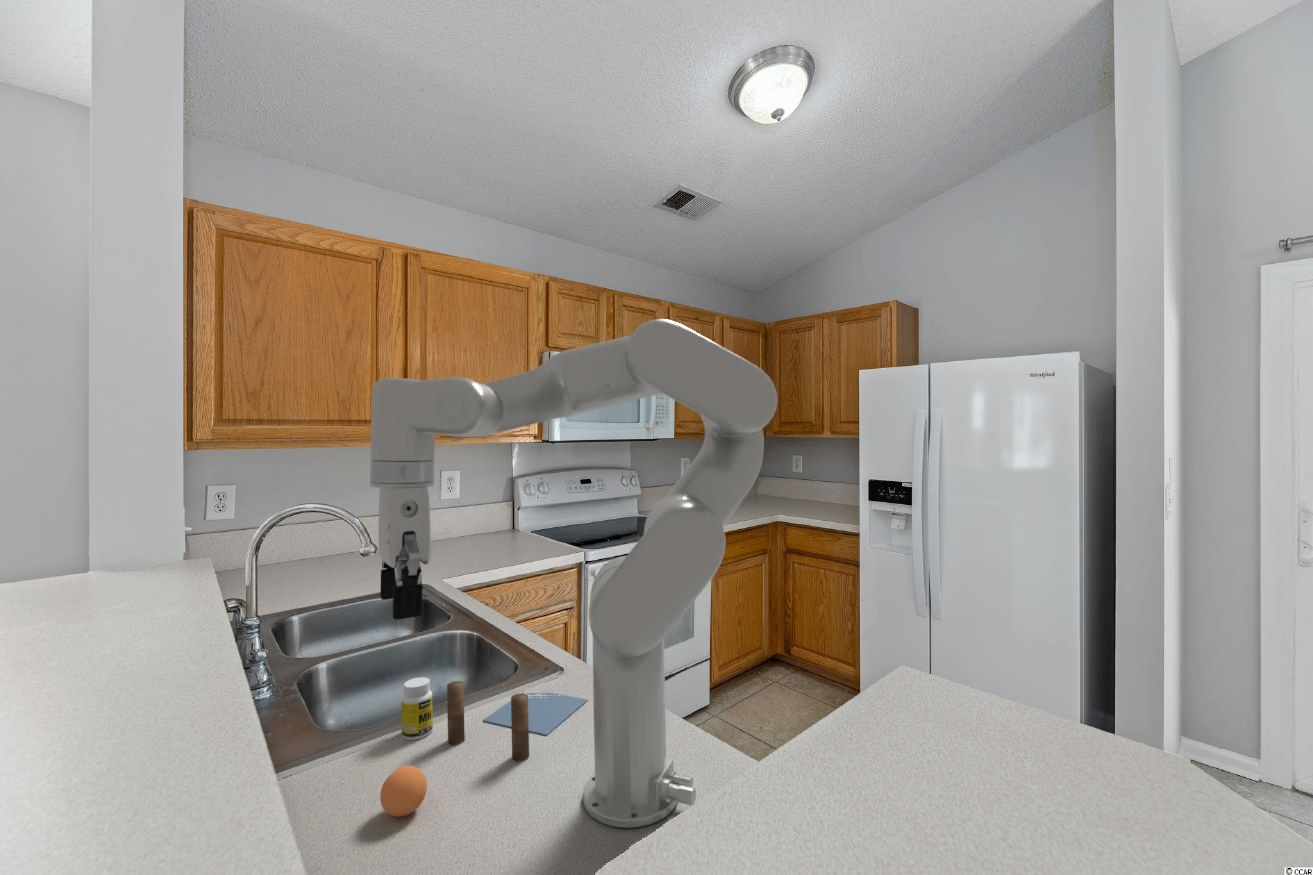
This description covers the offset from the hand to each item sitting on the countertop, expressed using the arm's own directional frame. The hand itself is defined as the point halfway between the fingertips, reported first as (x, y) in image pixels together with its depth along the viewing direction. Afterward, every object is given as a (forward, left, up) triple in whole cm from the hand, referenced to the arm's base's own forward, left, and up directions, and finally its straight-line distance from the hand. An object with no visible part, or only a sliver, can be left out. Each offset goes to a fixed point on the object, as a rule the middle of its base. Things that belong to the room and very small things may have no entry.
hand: (400, 607), depth 72 cm
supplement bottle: (+14, -16, -27) cm, 34 cm away
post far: (+6, -16, -27) cm, 32 cm away
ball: (0, 0, -24) cm, 24 cm away
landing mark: (0, -29, -27) cm, 39 cm away
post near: (-6, -16, -27) cm, 32 cm away
